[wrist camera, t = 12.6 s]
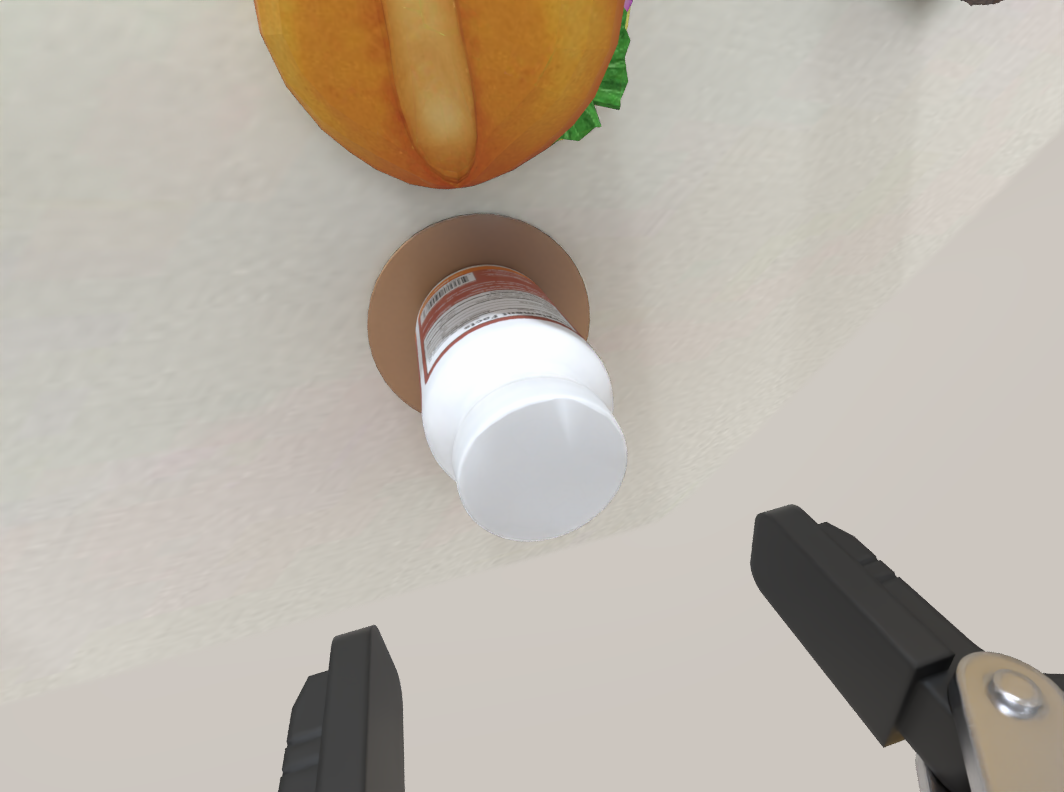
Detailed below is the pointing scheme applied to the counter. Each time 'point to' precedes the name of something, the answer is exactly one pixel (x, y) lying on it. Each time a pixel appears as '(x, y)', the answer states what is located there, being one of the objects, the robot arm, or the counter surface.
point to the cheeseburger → (449, 78)
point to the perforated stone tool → (981, 2)
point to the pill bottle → (516, 406)
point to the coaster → (448, 253)
